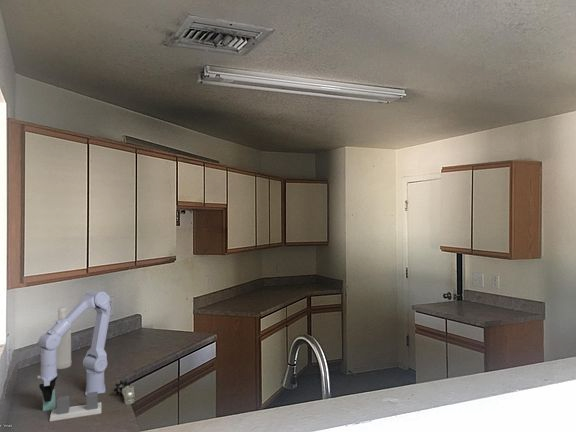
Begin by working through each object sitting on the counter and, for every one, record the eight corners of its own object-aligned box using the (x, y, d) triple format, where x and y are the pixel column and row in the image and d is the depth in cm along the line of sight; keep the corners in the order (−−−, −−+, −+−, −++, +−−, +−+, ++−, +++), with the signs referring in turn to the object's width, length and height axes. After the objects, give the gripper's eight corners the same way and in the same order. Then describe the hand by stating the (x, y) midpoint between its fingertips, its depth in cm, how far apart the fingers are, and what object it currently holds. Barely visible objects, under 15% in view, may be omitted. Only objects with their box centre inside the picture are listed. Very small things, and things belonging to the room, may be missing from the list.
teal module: (44, 406, 185) (44, 390, 185) (55, 404, 186) (55, 389, 186) (42, 411, 181) (42, 394, 181) (54, 409, 182) (54, 393, 182)
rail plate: (52, 411, 180) (52, 395, 180) (101, 404, 187) (101, 388, 187) (49, 421, 172) (49, 404, 172) (101, 413, 178) (101, 397, 178)
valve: (138, 402, 189) (128, 393, 198) (138, 386, 189) (128, 378, 198) (122, 406, 184) (113, 397, 194) (122, 390, 184) (112, 382, 194)
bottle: (74, 363, 236) (73, 306, 236) (67, 369, 228) (66, 309, 228) (58, 364, 236) (57, 306, 236) (51, 369, 228) (50, 309, 228)
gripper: (39, 359, 189) (40, 392, 189) (34, 371, 175) (35, 406, 175) (58, 357, 191) (59, 389, 191) (55, 368, 178) (55, 403, 178)
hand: (48, 397), depth 183 cm, fingers open, 7 cm apart
